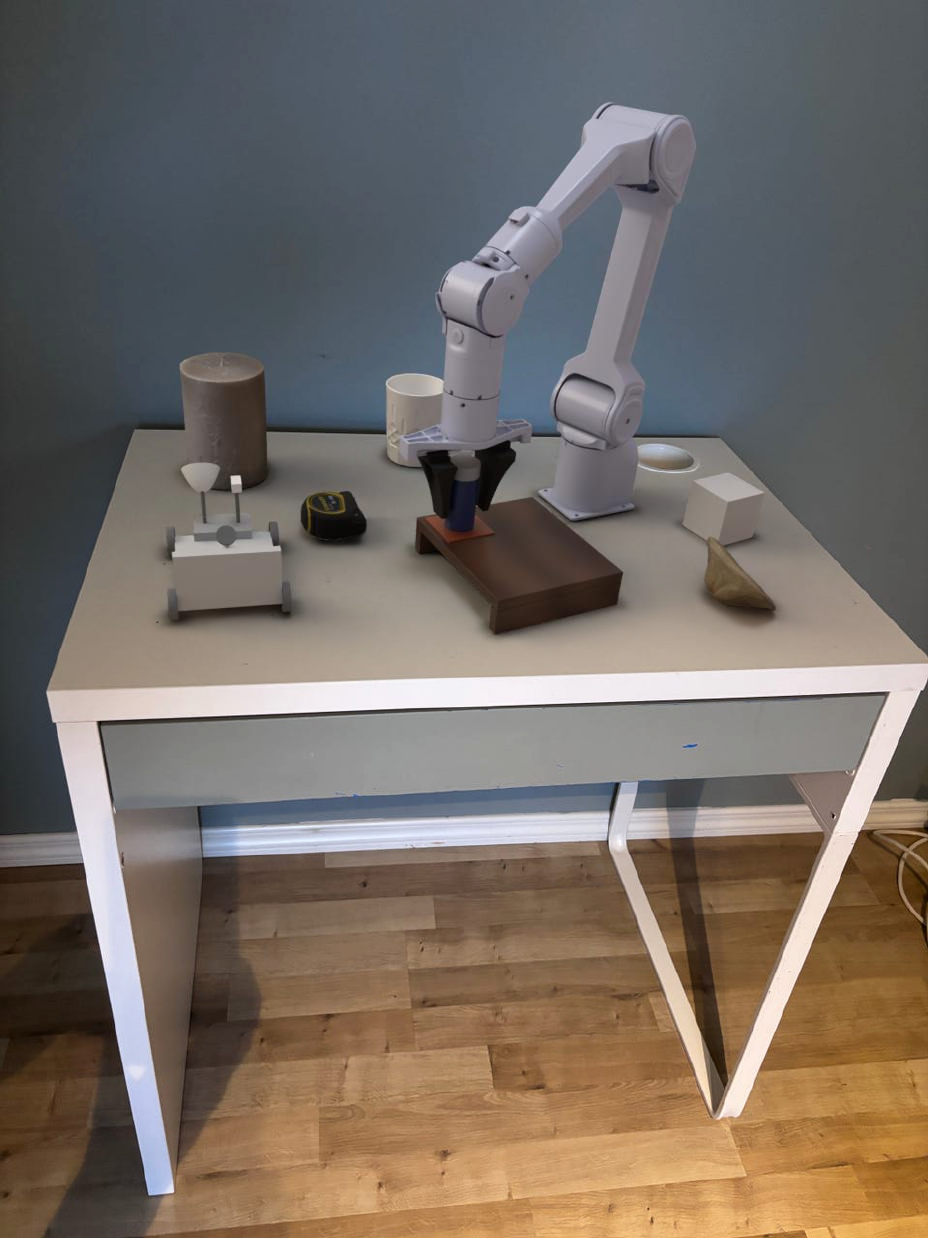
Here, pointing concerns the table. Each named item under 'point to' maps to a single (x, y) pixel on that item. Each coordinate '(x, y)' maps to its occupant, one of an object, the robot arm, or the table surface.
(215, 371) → the pillar candle
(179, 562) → the toy car
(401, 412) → the white cup
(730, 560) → the samosa
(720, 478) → the white cube
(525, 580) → the desk shelf
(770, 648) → the table surface
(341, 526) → the tape measure
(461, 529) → the glue stick
